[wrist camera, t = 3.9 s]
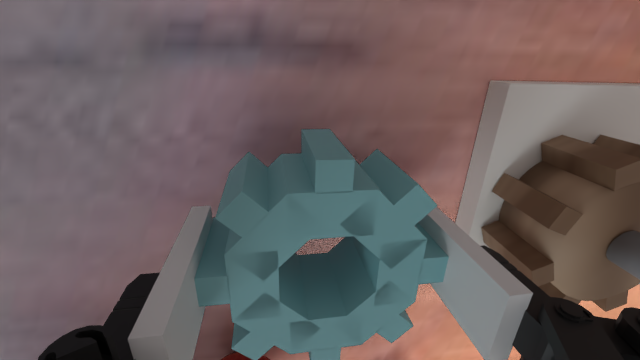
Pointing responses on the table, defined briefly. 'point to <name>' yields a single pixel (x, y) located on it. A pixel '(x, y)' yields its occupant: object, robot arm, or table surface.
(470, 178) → the gear board
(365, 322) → the teal gear
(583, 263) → the walnut gear
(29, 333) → the table surface
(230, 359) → the onion
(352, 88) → the table surface
